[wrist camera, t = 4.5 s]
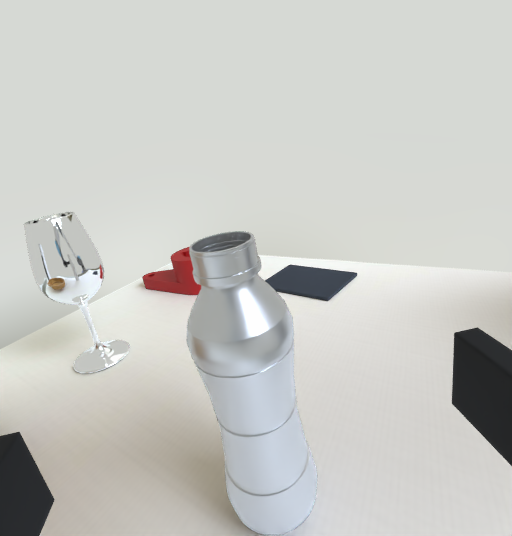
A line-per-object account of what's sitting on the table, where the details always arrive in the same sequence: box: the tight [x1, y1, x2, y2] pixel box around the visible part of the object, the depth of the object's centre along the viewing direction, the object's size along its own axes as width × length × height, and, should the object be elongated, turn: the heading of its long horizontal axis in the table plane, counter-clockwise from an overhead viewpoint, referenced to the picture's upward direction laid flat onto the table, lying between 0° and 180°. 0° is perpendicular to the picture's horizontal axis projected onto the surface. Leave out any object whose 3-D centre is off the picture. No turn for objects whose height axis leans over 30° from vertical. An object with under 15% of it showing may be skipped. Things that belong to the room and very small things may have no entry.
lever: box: [143, 247, 201, 295], centre depth 69 cm, size 18×9×7 cm, turn 72°
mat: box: [265, 265, 357, 301], centre depth 61 cm, size 14×10×1 cm
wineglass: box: [24, 212, 130, 373], centre depth 46 cm, size 8×8×20 cm
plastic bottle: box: [187, 231, 317, 535], centre depth 22 cm, size 6×7×20 cm
